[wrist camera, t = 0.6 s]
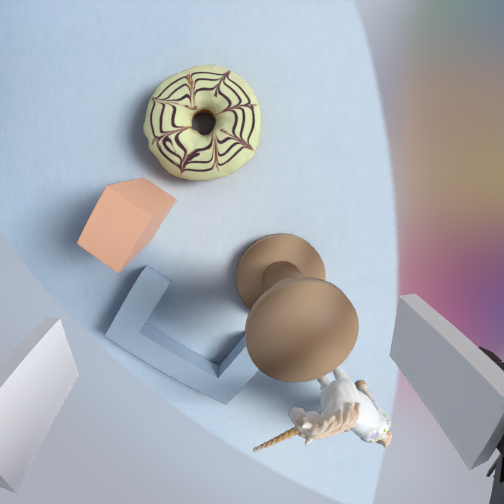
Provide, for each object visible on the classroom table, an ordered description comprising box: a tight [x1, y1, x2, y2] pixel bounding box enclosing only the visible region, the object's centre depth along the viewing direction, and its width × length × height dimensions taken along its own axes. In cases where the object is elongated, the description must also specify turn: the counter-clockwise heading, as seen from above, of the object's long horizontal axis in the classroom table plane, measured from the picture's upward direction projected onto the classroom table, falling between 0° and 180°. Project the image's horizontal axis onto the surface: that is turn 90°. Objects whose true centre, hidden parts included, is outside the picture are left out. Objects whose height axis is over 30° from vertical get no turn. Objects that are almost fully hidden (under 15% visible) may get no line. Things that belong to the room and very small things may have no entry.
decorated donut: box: [143, 65, 261, 181], centre depth 27 cm, size 10×11×4 cm
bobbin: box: [237, 234, 359, 382], centre depth 27 cm, size 9×9×12 cm
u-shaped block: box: [105, 266, 259, 405], centre depth 34 cm, size 16×9×2 cm, turn 54°
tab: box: [77, 178, 177, 274], centre depth 26 cm, size 4×5×10 cm
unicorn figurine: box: [253, 366, 392, 452], centre depth 31 cm, size 7×20×13 cm, turn 60°
